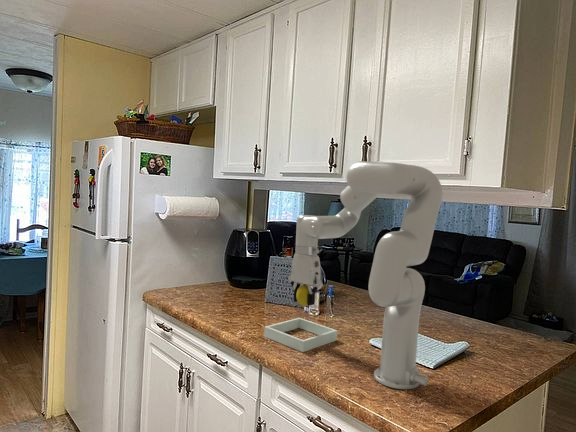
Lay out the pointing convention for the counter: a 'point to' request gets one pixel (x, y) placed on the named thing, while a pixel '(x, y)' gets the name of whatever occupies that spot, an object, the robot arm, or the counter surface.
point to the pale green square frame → (276, 334)
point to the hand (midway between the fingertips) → (304, 302)
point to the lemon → (302, 295)
